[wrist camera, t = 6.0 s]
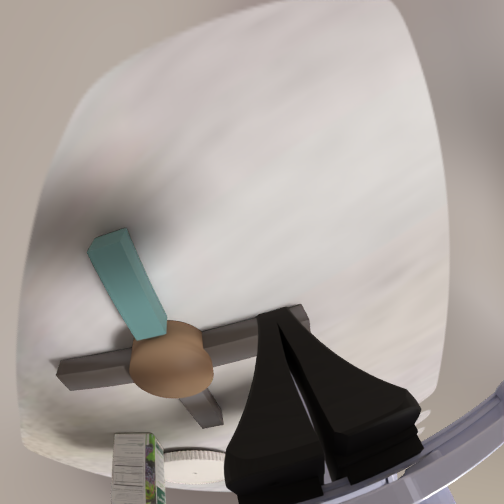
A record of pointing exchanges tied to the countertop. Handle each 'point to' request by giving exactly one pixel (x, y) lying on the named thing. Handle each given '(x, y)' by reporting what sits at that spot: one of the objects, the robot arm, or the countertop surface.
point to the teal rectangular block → (128, 284)
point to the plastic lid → (194, 467)
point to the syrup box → (137, 470)
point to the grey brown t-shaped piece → (172, 364)
